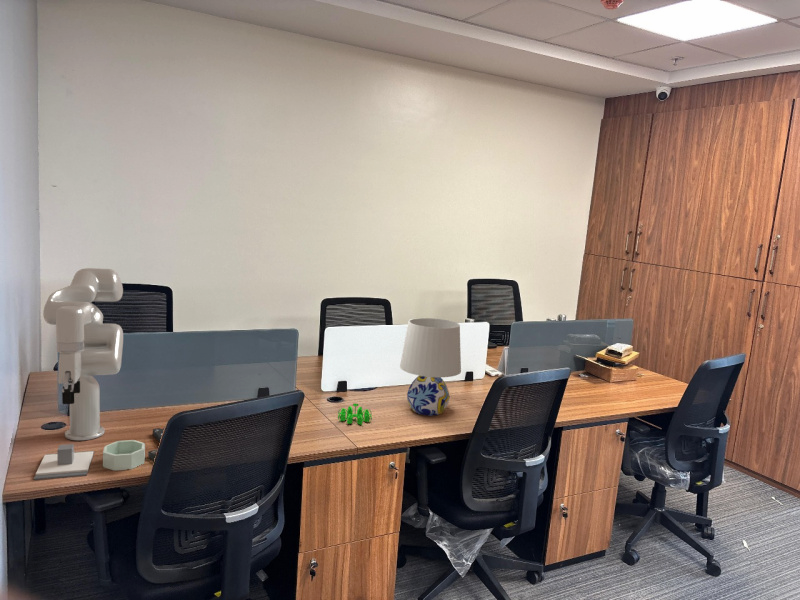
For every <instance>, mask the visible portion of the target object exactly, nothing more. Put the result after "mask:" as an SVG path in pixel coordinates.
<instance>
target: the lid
mask: <svg viewBox="0 0 800 600" xmlns="http://www.w3.org/2000/svg"><path fill="white" fill-rule="evenodd" d="M74 447H75V444H74V443H71V444H69V443H68V444H59V445H58V447H57V450H56V451H57V454H55V453H49V454H50V455H46V454H44V456H43V458H42V460H41V462H40V465H39V466H38V468H37V471H36V472H35V476H36V475H47V474H59V473H71V472H83V471H88V472H89V470H88V469H90V467H89V465H90V466H91V464H90V462H91V463H92V461H91V459H92V460H93V458H92V456H93V457H94V455H93V451H94V450H90V451H91V452H84V451H76V452H77V453H74V452H75V448H74Z"/></svg>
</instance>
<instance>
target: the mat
mask: <svg viewBox="0 0 800 600" xmlns="http://www.w3.org/2000/svg"><path fill="white" fill-rule="evenodd" d="M91 451H93V454H94V455H95V450H87V451H86V450H85V451H84V450H83V452H91ZM77 452H78V451H74V453H77ZM50 454H51V453H46V454H45V455H50ZM54 454H57V453H54ZM94 455H93V456H92V459H91V462H90V465H89V469H90V466H91V463H92V460H93V457H94ZM89 469H88V471H83V472H71V473H59V474H47V475H36V474H35V475H34V478H33V481H37V480H38V481H39V480H52V479H61V478H62V479H64V478H73V477H74V478H75V477H76V478H77V477H86V476H87V475H88V473H89Z"/></svg>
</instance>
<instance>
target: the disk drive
mask: <svg viewBox="0 0 800 600" xmlns="http://www.w3.org/2000/svg"><path fill="white" fill-rule="evenodd" d="M164 428H165V427H163V428H159V427H158V428H152V435H154V436H153V437H154V438H155V437H156V438H155V439H156V441H157V442H158V443H159V442H160V439H161V436H162V433H163V430H164Z"/></svg>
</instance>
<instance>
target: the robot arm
mask: <svg viewBox="0 0 800 600" xmlns="http://www.w3.org/2000/svg"><path fill="white" fill-rule="evenodd" d="M123 287H124V286H123V283H122V281H121V278H120V275H119V274H118V272H116V270H114V269H111V268H93V267H91V268H89V267H88V268H87V267H86V268H82V269H79V270H77V271H76V272H75V274H74V276H73V278H72V280H71V283H70V285H68V286H66V287H63V288H60V289H58V290H56V291H54V292H52V293H51V294H50V295H49V296H48V298H47V300H46V301H45V304H44V307H43V310H42V311H43V314H42V315H43V319H44V321H45V322H46V323H47V324H49V325H51V326H52V325H55V330H56V352H57V353H59V357H58V375H57V376H58V380H57V382H58V385H62V392H61V399H62V400H61V401H62V402H61V403H62V404H63V405H69V429H67V430H66V431H65V432H64V437H65V439H68V440H71V441H88V440H93V439H97V438H99V437H101V436H103V435H104V434H105V431H106V429H105V428H104V427H103V426H101V425H100V424H101V421H100V420H101V419H100V417H101V413H100V409H101V408H100V402H101V401H100V400H101V399H100V384H99V383H98V380H97V379H96V378H95V377H94V376H107V375H116V374H118V373H119V372H120V370H121V367H122V359H123V348H124V347H123V346H124V331H123V328H122V326H121V325H120V324H117V323H103V321H104V315H103V313H102V311H101V310H100V309H99V307H98V306H96V305H95V304H94V303H92V302H110V303H111V302H118V301H120V300H121V299H122V298H123V294H124V288H123Z"/></svg>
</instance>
